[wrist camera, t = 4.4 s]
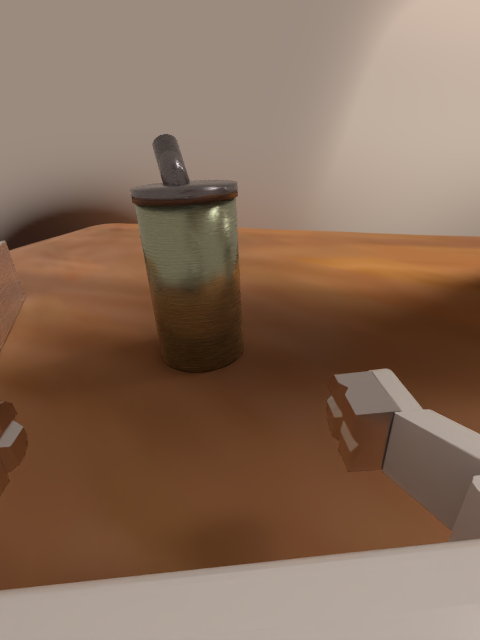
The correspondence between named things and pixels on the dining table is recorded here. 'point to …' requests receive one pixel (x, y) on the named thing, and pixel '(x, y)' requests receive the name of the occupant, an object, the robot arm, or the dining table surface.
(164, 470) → the dining table surface
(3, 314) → the open wooden box
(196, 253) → the glass jar with lid
